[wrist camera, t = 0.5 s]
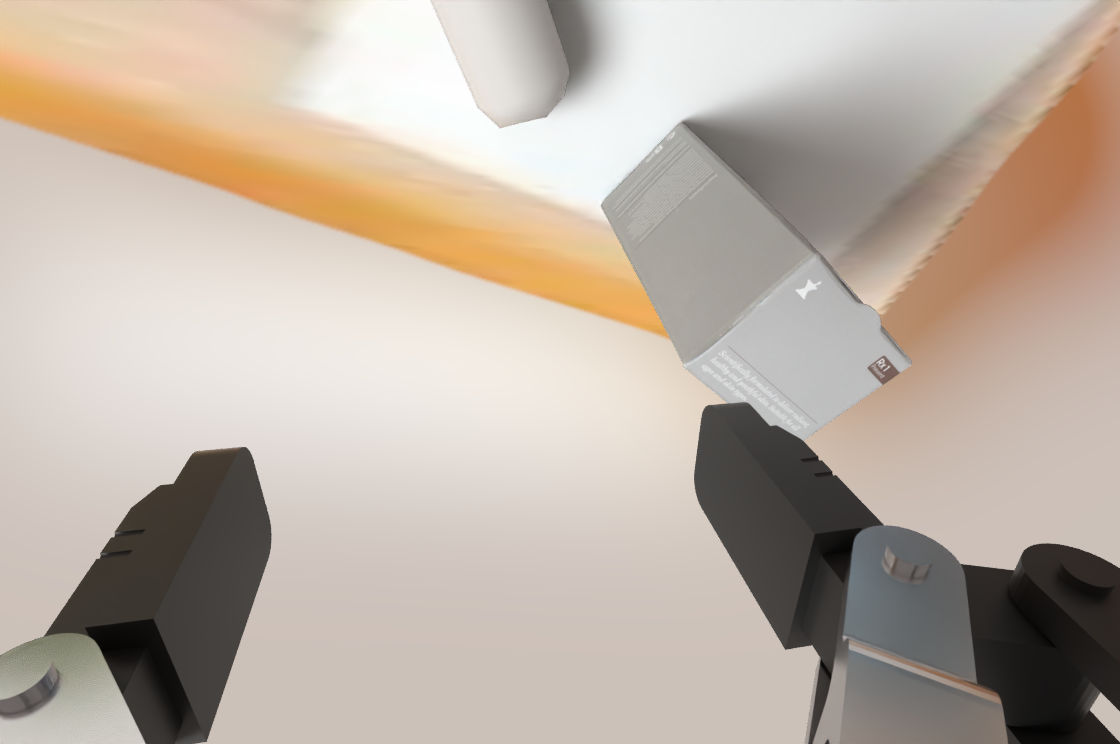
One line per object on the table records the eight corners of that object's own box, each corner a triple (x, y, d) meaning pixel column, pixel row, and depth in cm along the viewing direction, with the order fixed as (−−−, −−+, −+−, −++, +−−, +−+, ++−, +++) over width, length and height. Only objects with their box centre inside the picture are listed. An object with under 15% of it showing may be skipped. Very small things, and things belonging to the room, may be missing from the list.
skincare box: (596, 201, 35) (657, 374, 23) (692, 105, 32) (820, 245, 20) (686, 283, 39) (777, 467, 27) (778, 205, 36) (927, 371, 24)
